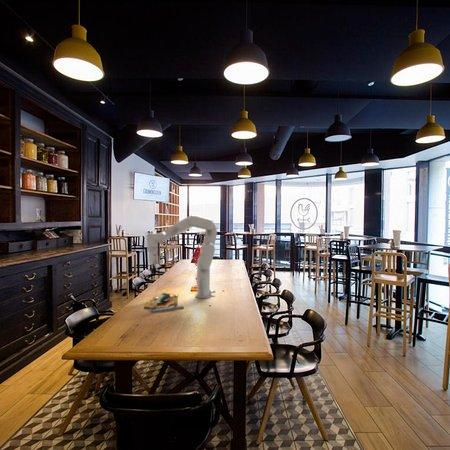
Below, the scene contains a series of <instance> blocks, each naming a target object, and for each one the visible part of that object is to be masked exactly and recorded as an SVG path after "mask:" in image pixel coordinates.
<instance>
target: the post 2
mask: <svg viewBox="0 0 450 450" xmlns="http://www.w3.org/2000/svg"><path fill="white" fill-rule="evenodd" d="M172 296H174V305H173V306H179V304H178V303H179V302H178V301H179V300H178V299H179V298H178V297H179V296H180V295H179V294H176V293H175V294H173V295H172Z"/></svg>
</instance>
